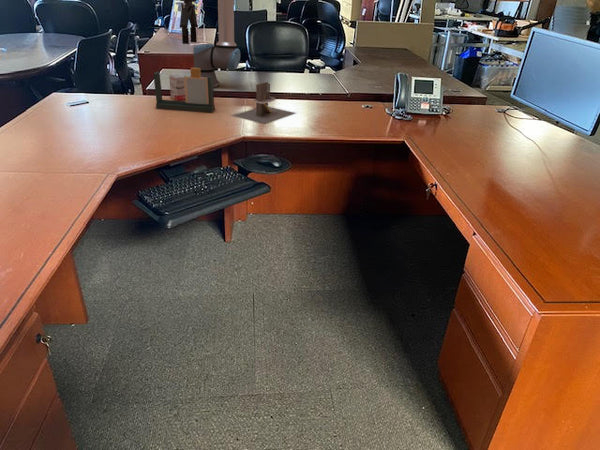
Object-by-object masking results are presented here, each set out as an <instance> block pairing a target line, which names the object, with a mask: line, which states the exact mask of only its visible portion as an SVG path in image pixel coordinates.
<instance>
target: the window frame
mask: <svg viewBox="0 0 600 450" xmlns="http://www.w3.org/2000/svg"><path fill="white" fill-rule="evenodd" d="M152 75H153V82H154V92H155V100H156V101H155V102H156V103H155V108H156V110H166V111H168V110H169V111H180V112H194V113H208V114H212V113H213V112H215V110H216V105H215V95H214V88H213V76H209V77H207V79H208V98H209V104H196V103H186V100H181V101H177V100H174V99H163V92H162V83H161V82H162V81H161V73H160V71H156V72H154V73H153V74H152Z"/></svg>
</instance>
